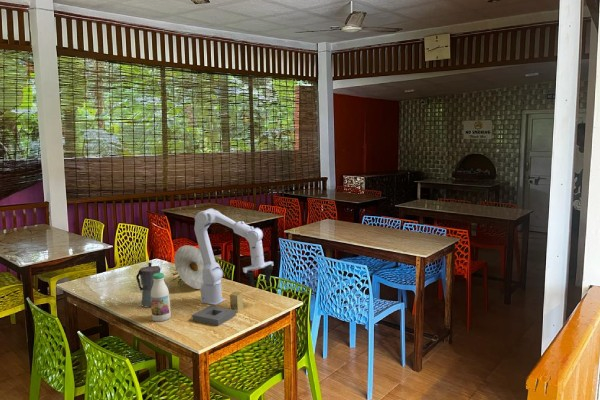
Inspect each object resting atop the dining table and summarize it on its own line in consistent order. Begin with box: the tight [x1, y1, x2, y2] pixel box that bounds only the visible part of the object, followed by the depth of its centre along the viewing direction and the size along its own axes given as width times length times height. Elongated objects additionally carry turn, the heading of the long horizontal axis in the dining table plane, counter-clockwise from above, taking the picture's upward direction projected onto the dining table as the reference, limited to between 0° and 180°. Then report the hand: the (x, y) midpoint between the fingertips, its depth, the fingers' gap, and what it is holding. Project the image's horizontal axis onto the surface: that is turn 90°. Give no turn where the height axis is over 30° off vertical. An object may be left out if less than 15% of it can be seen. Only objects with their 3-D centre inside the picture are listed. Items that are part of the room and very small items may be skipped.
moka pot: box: [135, 262, 161, 308], centre depth 219 cm, size 10×15×20 cm, turn 161°
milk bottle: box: [150, 272, 172, 322], centre depth 202 cm, size 8×8×20 cm
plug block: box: [229, 291, 244, 314], centre depth 209 cm, size 4×4×8 cm
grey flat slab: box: [191, 304, 237, 327], centre depth 202 cm, size 14×12×2 cm
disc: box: [171, 244, 204, 290], centre depth 248 cm, size 25×18×25 cm
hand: (260, 284), depth 213 cm, fingers open, 7 cm apart
